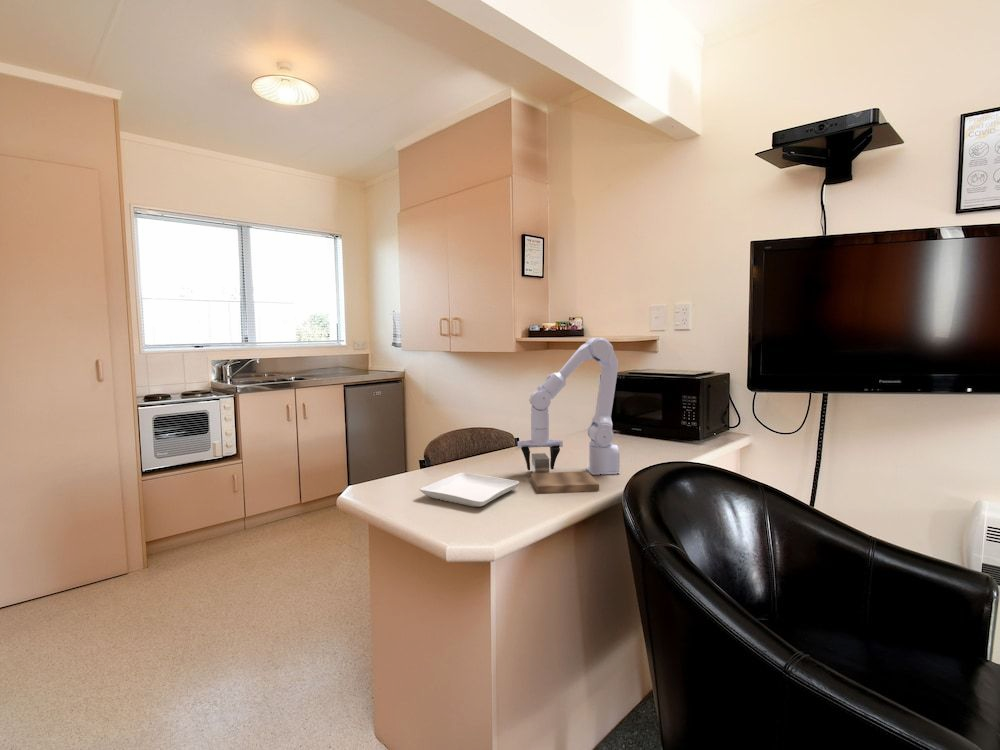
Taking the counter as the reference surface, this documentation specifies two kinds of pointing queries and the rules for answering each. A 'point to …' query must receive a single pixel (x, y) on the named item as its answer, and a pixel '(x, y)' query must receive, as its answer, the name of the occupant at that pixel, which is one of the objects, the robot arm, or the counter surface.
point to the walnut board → (564, 482)
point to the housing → (540, 463)
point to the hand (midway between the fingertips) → (540, 469)
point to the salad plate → (469, 489)
